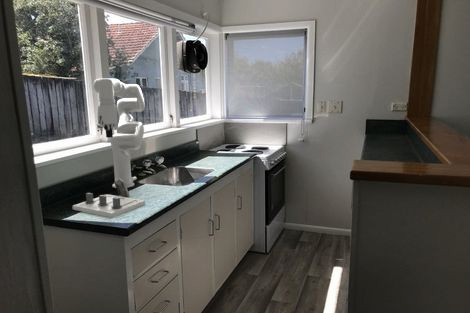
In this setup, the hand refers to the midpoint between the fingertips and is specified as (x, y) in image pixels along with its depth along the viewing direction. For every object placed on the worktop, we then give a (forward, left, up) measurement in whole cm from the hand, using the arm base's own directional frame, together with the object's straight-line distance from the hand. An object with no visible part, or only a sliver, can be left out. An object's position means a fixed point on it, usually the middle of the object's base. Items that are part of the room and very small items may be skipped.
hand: (109, 137), depth 196 cm
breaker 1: (+20, +5, -30) cm, 36 cm away
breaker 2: (+20, +14, -30) cm, 39 cm away
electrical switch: (-2, +5, -32) cm, 33 cm away
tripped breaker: (+20, +23, -30) cm, 43 cm away
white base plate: (+16, +14, -32) cm, 39 cm away
